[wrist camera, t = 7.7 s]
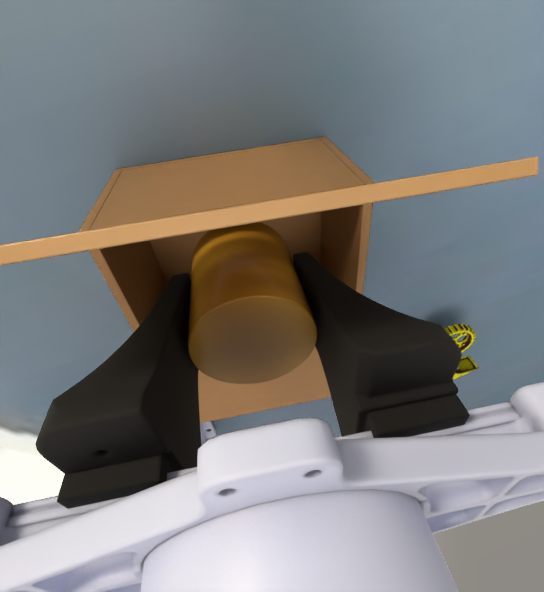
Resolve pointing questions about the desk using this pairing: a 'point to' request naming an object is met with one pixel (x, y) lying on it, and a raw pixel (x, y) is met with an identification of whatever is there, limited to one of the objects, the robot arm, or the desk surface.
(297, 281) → the cylinder
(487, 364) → the desk surface
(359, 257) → the toy box
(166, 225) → the flap
